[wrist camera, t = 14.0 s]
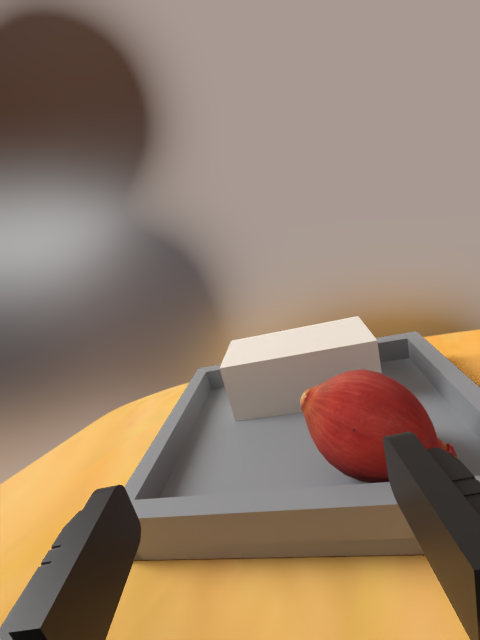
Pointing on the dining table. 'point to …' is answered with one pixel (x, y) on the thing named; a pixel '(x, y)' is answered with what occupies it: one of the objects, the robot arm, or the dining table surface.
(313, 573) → the dining table surface
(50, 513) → the dining table surface
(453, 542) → the robot arm
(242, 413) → the white box
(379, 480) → the onion
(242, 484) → the tray
